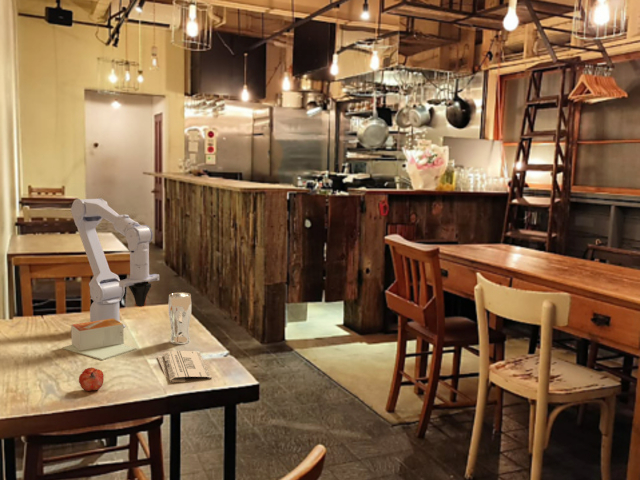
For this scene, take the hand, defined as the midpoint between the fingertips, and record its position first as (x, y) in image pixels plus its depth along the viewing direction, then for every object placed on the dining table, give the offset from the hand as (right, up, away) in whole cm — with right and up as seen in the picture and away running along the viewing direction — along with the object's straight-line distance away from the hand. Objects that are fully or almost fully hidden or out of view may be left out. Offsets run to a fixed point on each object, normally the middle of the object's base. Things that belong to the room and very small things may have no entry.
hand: (140, 305), depth 184 cm
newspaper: (+20, -15, -26) cm, 36 cm away
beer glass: (+14, -11, -3) cm, 18 cm away
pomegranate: (+1, -16, -42) cm, 45 cm away
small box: (-5, -7, -5) cm, 10 cm away
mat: (-8, -11, -12) cm, 19 cm away
